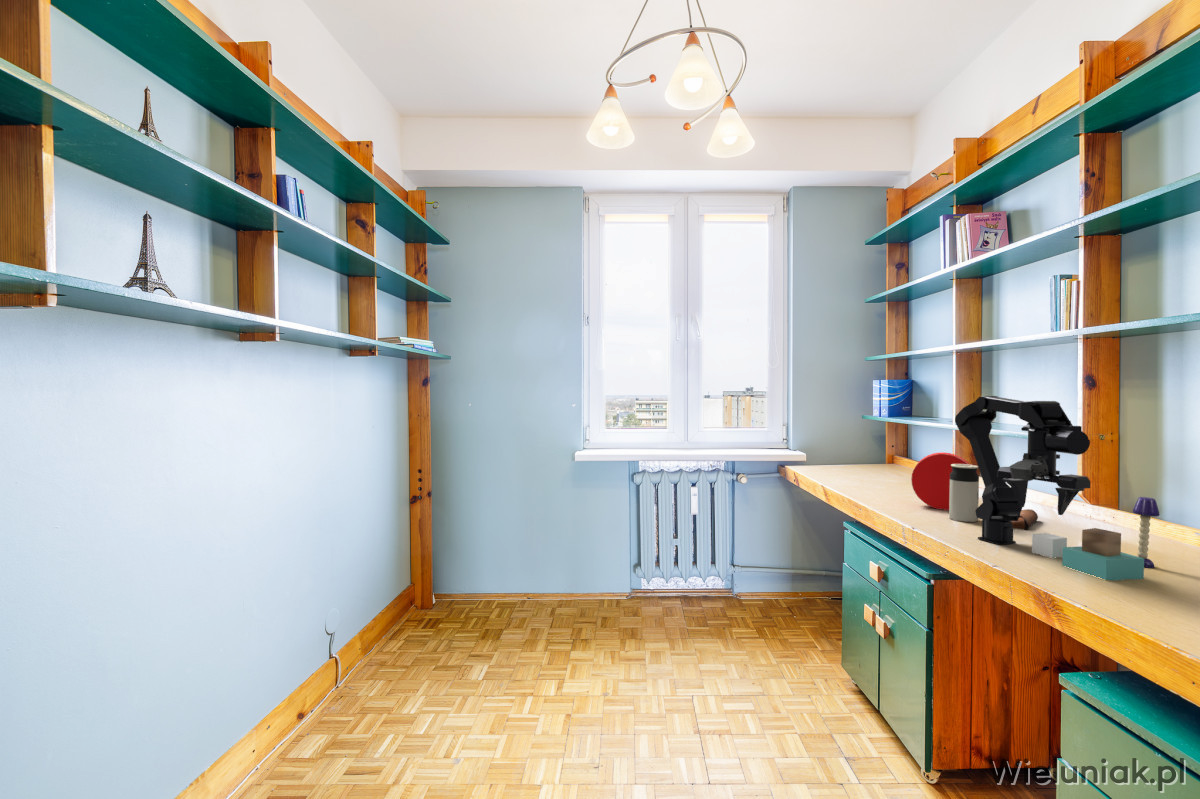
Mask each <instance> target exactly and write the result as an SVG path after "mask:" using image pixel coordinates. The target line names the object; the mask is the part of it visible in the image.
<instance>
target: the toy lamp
mask: <svg viewBox="0 0 1200 799" xmlns="http://www.w3.org/2000/svg"><path fill="white" fill-rule="evenodd" d="M1132 513H1134V514H1137V515H1140V516H1139V518H1140V521H1139V525H1140V527H1139V533H1138V538H1139V539H1138V546H1137V550H1138V552H1137V557H1141V558H1144V568H1148V569H1149V568H1150V569H1152V568H1153V569H1154V568H1155V564H1154V562H1153V561H1152V560H1151V559H1150V558H1148V554H1149V553H1148V551H1149V545H1150V541H1149V539H1150V534H1149V533H1150V532H1151V529H1150V526H1151V522H1150V521H1151V517H1159V516H1160V510H1159V506H1158V504H1157V500H1156V499H1155V498H1153V497H1146V496H1139V497H1138V498H1137V499H1136V502H1135V504H1134V507H1133V509H1132Z"/></svg>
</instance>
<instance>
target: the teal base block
mask: <svg viewBox="0 0 1200 799" xmlns="http://www.w3.org/2000/svg"><path fill="white" fill-rule="evenodd" d="M1061 558H1062V560H1061V562H1062V563H1061V566H1062V565H1063V566H1066V567H1069V568H1072V569H1075V570H1078V571H1081V572H1084V573H1087V574H1090V575H1094V576H1096V577H1100V578H1102V579H1105V580H1111V581H1125V579H1130V580H1144V578H1145V576H1144V572H1145V567H1144V558H1141V557H1138V555H1137V556H1136V555H1133V554H1130V553H1129V554H1128V553H1126V552H1122V551H1121V555H1115V556H1109V557H1106V556H1102V555H1098V554H1094V553H1090V552H1085V551H1082V545H1081V546H1067V547H1063V557H1061ZM1063 566H1062V567H1063ZM1066 567H1065V568H1066ZM1069 568H1068V569H1069ZM1072 569H1071V570H1072ZM1075 570H1074V571H1075ZM1078 571H1077V572H1078ZM1081 572H1080V573H1081ZM1084 573H1083V574H1084ZM1087 574H1086V575H1087ZM1090 575H1089V576H1090ZM1096 577H1095V578H1096ZM1102 579H1101V580H1102ZM1122 579H1123V580H1122ZM1105 580H1104V581H1105Z"/></svg>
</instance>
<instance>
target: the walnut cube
mask: <svg viewBox="0 0 1200 799" xmlns="http://www.w3.org/2000/svg"><path fill="white" fill-rule="evenodd" d="M1081 533H1082V534H1081V535H1082V536H1081V546H1082V551H1085V552H1090V553H1094V554H1098V555H1102V556H1106V557H1109V556H1115V555H1121V552H1122V533H1121V532H1117V531H1111V530H1108V529H1104V528H1096V527H1095V528H1094V527H1093V528H1085V529H1082V531H1081Z"/></svg>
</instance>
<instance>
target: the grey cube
mask: <svg viewBox="0 0 1200 799" xmlns="http://www.w3.org/2000/svg"><path fill="white" fill-rule="evenodd" d="M1067 543H1068V538H1067V537H1065V536H1060V535H1056V534H1052V533H1048V532H1041V533H1032V536H1031V554H1035V553H1036V554H1035V555H1038V554H1040V555H1039V556H1042V555H1044V556H1043V557H1046V556H1047V557H1046V558H1049V557H1051V558H1050V559H1056V558H1055V557H1060V558H1062V557H1063V547H1068V544H1067Z"/></svg>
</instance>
